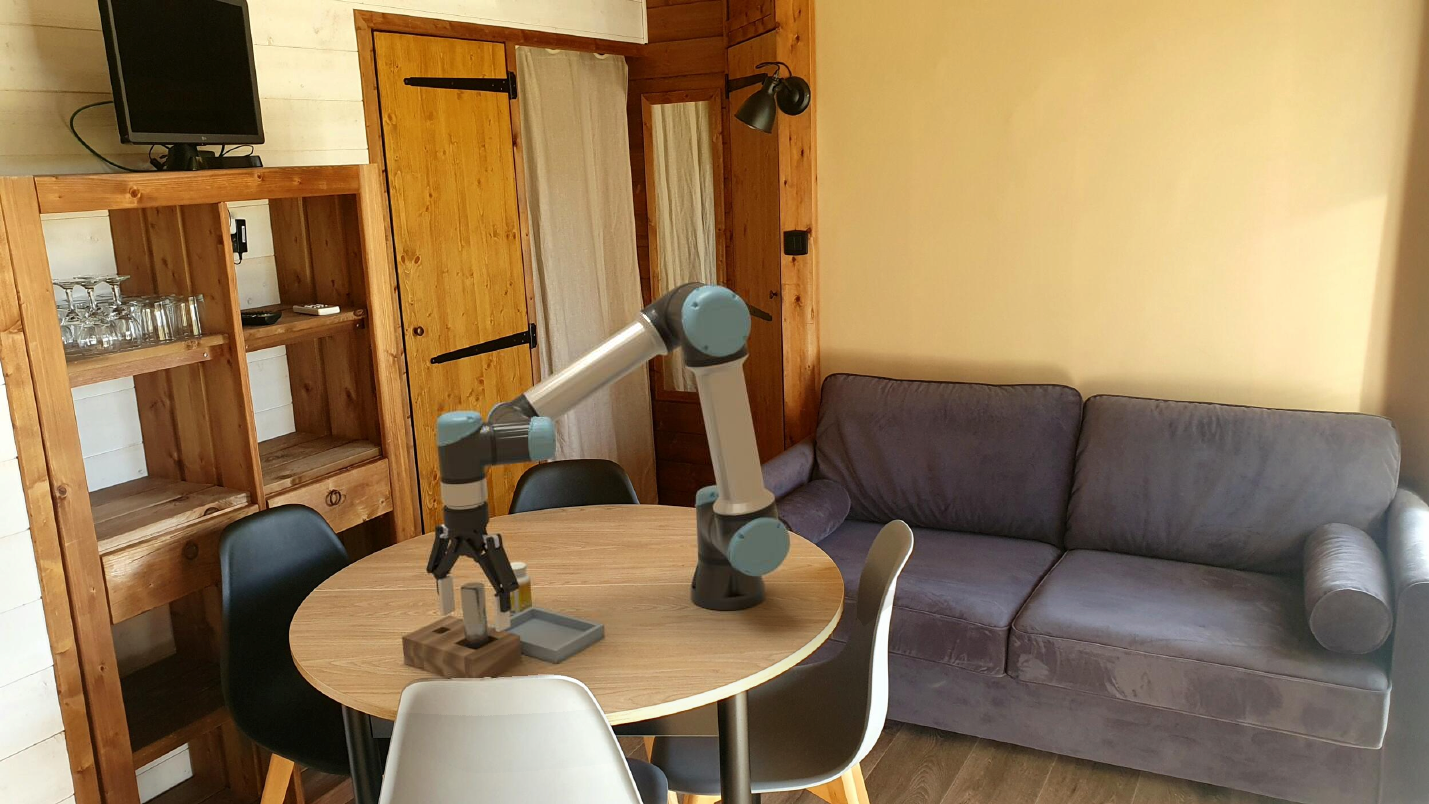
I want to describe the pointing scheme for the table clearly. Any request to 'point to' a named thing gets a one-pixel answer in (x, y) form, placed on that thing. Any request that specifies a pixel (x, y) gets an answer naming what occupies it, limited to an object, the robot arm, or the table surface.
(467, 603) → the cylinder
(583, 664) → the table surface
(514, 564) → the supplement bottle
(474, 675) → the wooden peg board
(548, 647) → the tray
